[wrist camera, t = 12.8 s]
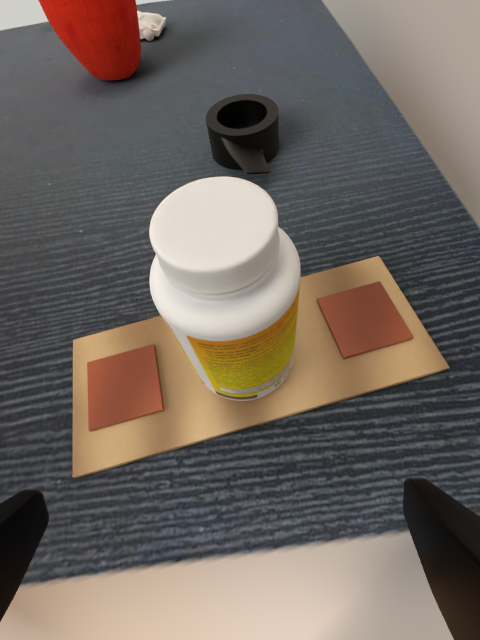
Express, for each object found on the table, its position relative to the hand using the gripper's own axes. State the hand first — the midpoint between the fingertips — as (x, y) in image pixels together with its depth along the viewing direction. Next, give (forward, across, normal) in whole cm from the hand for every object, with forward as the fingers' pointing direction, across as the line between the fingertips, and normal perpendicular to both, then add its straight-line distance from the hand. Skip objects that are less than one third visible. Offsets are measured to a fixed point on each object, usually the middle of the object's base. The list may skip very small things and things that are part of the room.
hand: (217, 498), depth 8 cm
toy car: (+44, +13, -32) cm, 56 cm away
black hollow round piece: (+25, -1, -13) cm, 28 cm away
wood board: (+11, 0, +1) cm, 11 cm away
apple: (+37, +14, -25) cm, 46 cm away
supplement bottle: (+11, 0, +1) cm, 11 cm away
